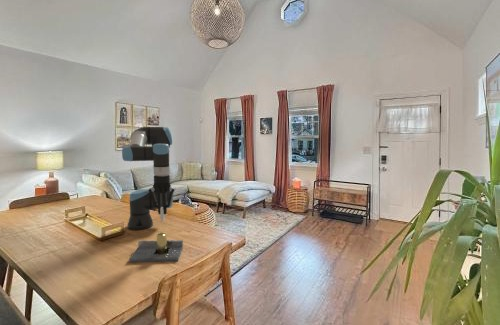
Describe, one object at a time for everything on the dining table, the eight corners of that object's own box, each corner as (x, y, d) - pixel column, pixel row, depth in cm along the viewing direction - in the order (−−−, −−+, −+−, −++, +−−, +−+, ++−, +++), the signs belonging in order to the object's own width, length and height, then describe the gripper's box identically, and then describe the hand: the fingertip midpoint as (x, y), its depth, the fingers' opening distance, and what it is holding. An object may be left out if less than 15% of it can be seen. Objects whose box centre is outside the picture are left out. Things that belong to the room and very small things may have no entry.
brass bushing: (155, 255, 125) (154, 235, 124) (162, 251, 129) (161, 232, 128) (162, 257, 123) (161, 237, 122) (168, 253, 127) (168, 234, 126)
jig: (129, 262, 118) (129, 253, 118) (139, 249, 132) (139, 241, 132) (178, 261, 120) (177, 252, 120) (183, 248, 134) (182, 240, 134)
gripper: (145, 176, 123) (147, 223, 126) (173, 176, 124) (174, 222, 127) (150, 173, 130) (151, 217, 134) (176, 173, 132) (177, 217, 135)
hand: (162, 220), depth 130 cm, fingers closed
